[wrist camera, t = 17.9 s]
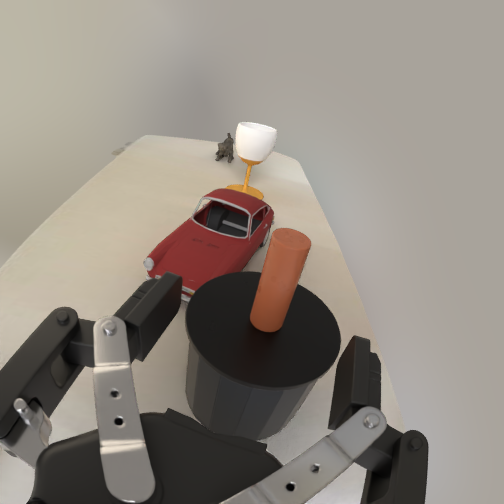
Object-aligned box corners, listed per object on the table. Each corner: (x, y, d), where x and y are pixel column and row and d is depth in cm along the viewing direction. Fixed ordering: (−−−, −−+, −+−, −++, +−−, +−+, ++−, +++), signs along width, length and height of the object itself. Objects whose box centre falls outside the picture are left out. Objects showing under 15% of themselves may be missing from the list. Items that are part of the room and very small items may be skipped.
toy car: (138, 289, 40) (138, 222, 34) (218, 217, 60) (226, 168, 55) (213, 324, 38) (225, 256, 32) (272, 236, 58) (285, 186, 53)
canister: (301, 441, 26) (347, 385, 21) (181, 435, 25) (184, 375, 19) (289, 354, 36) (318, 286, 30) (191, 344, 34) (199, 270, 29)
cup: (221, 196, 69) (234, 125, 60) (228, 182, 77) (240, 119, 68) (261, 205, 69) (278, 134, 61) (264, 190, 77) (279, 128, 68)
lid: (350, 396, 21) (410, 312, 16) (175, 386, 19) (179, 287, 14) (320, 289, 31) (350, 212, 26) (193, 272, 29) (204, 186, 25)
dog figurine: (216, 152, 97) (220, 130, 93) (234, 155, 97) (238, 133, 93) (210, 163, 87) (214, 138, 83) (230, 167, 87) (235, 142, 83)
